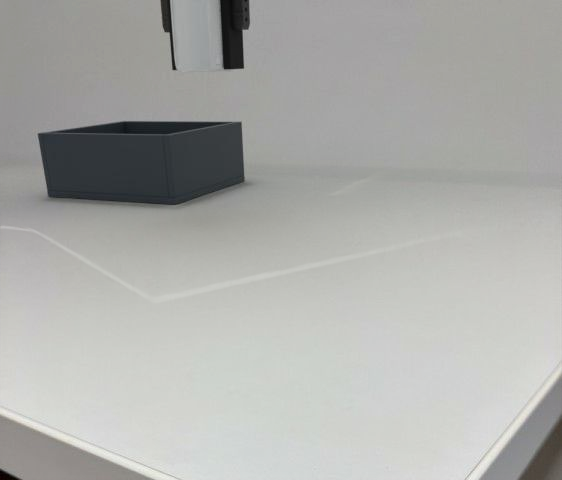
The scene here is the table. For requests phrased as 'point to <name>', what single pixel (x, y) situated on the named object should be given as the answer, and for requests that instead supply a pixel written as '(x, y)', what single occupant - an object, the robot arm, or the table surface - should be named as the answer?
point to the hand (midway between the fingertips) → (208, 68)
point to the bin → (143, 160)
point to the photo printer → (197, 35)
